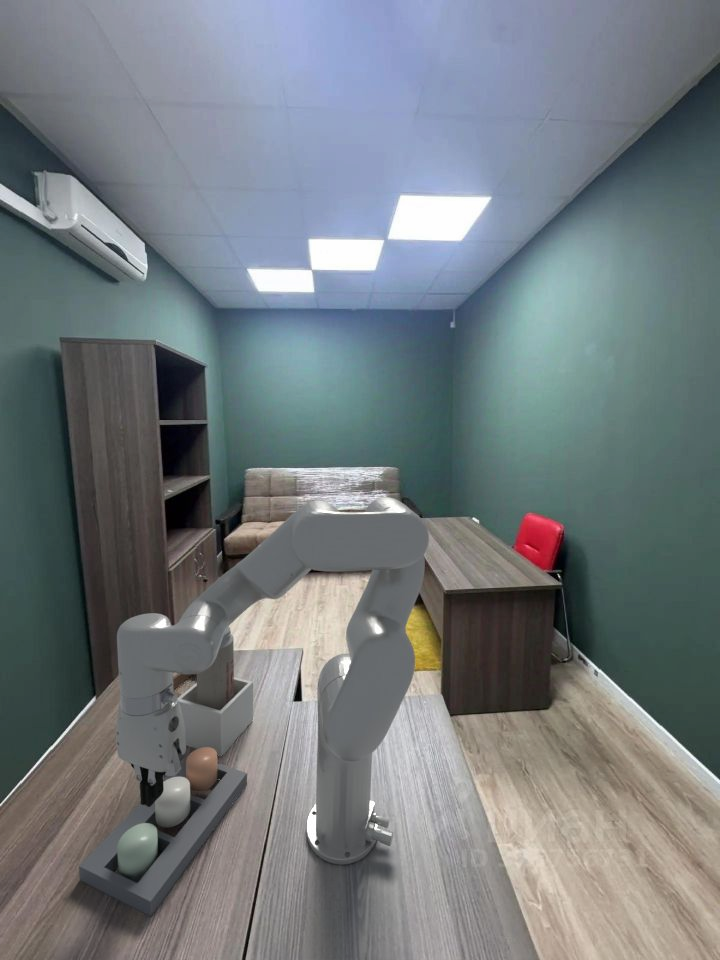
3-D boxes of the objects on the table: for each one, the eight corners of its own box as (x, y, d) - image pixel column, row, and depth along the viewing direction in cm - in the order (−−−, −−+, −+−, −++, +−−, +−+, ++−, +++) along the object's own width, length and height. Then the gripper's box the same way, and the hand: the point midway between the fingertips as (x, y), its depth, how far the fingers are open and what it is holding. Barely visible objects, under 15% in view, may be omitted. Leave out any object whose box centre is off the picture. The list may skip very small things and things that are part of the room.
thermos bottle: (240, 721, 100) (239, 610, 97) (222, 746, 93) (221, 626, 89) (209, 716, 102) (208, 606, 98) (190, 740, 94) (188, 621, 90)
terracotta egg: (223, 772, 82) (223, 751, 82) (204, 795, 77) (204, 773, 77) (200, 763, 84) (199, 743, 84) (179, 786, 79) (179, 765, 78)
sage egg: (165, 853, 69) (165, 829, 68) (137, 888, 63) (136, 863, 63) (139, 841, 70) (138, 818, 70) (109, 874, 65) (108, 850, 65)
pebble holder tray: (246, 784, 83) (246, 773, 83) (151, 916, 60) (150, 901, 60) (189, 764, 87) (188, 753, 87) (79, 880, 65) (78, 865, 65)
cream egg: (197, 804, 75) (196, 782, 75) (174, 832, 70) (173, 808, 70) (172, 794, 77) (171, 772, 77) (147, 821, 72) (147, 798, 71)
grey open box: (252, 720, 101) (253, 681, 100) (221, 756, 90) (221, 713, 88) (211, 708, 105) (210, 670, 103) (176, 741, 93) (175, 700, 92)
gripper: (203, 690, 67) (206, 792, 70) (129, 672, 72) (134, 768, 74) (169, 721, 60) (173, 833, 63) (89, 699, 65) (96, 805, 67)
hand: (152, 798), depth 68 cm, fingers closed
